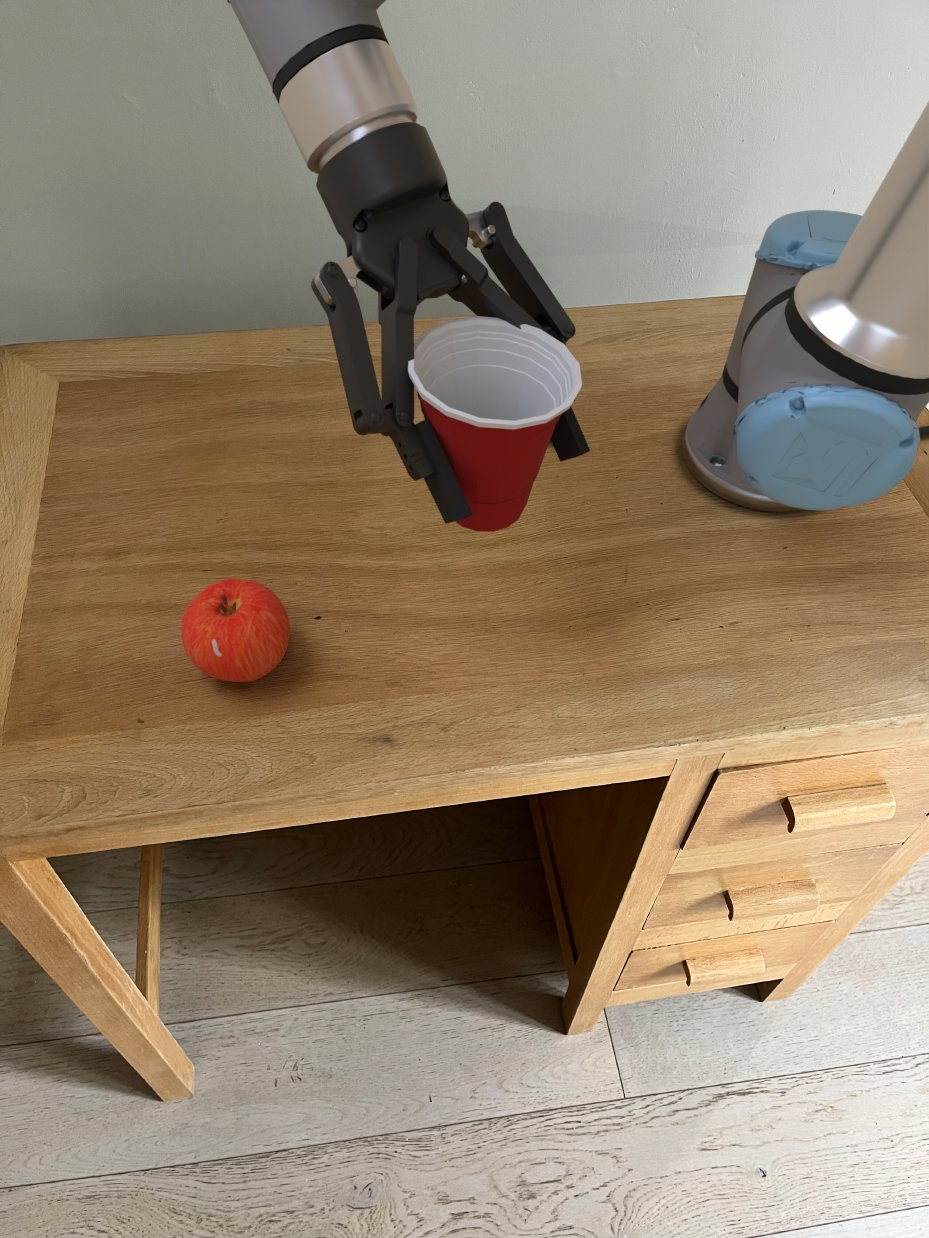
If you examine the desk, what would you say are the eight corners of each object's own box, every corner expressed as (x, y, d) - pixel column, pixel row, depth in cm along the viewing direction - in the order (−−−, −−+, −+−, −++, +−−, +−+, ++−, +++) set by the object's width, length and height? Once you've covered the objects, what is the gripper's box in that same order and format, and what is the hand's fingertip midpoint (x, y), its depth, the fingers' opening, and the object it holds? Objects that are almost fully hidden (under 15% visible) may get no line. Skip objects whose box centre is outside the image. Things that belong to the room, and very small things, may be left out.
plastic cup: (552, 571, 58) (573, 429, 48) (395, 546, 59) (387, 403, 49) (571, 466, 64) (593, 323, 55) (430, 446, 65) (428, 302, 56)
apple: (279, 708, 65) (261, 645, 59) (178, 691, 66) (149, 627, 60) (309, 627, 70) (295, 560, 64) (214, 612, 71) (192, 545, 65)
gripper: (480, 136, 60) (605, 433, 65) (192, 229, 51) (361, 564, 56) (536, 75, 53) (671, 411, 58) (215, 170, 44) (405, 556, 49)
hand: (519, 486), depth 57 cm, fingers closed on plastic cup, 9 cm apart
